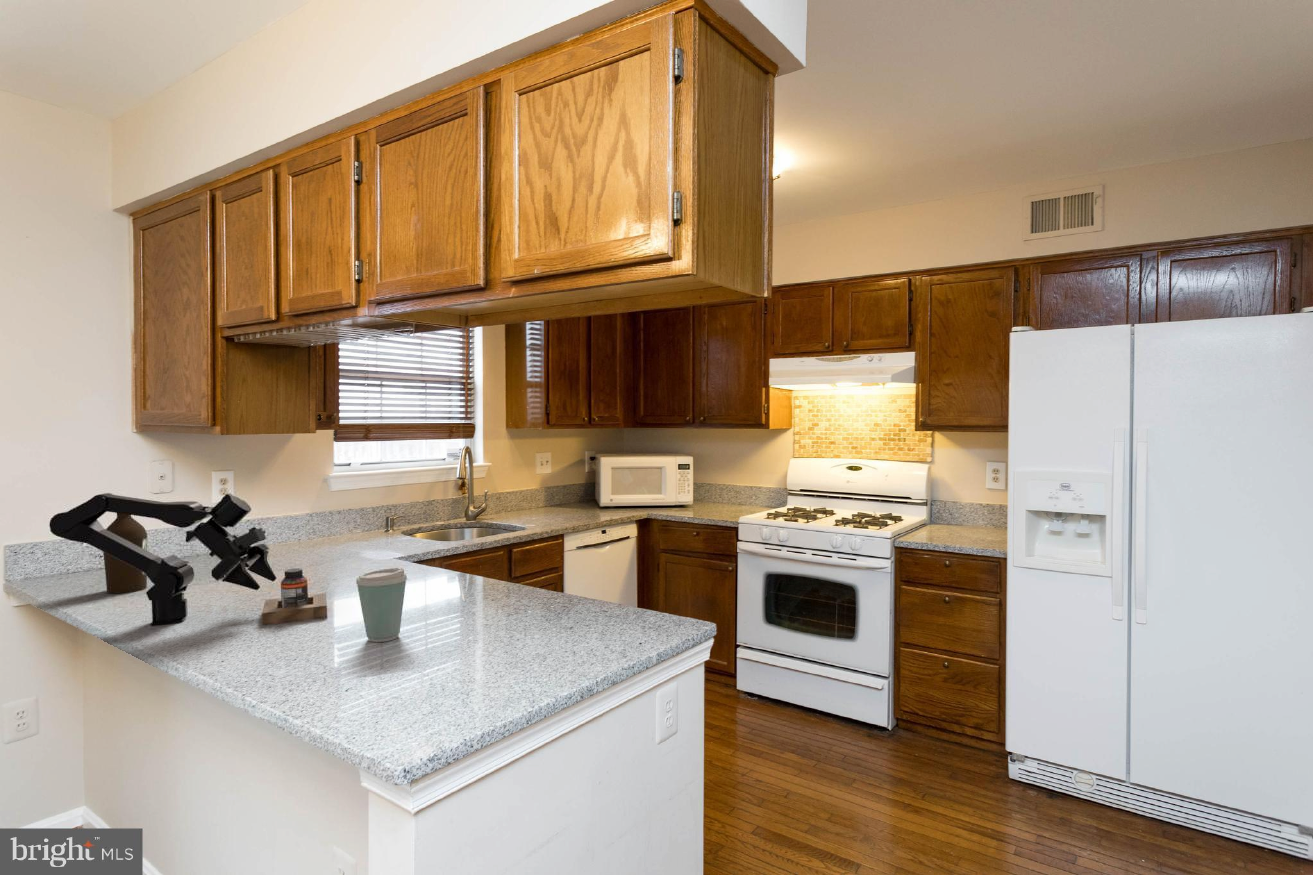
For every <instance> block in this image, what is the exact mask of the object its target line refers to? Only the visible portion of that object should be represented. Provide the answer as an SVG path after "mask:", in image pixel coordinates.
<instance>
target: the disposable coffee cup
mask: <svg viewBox="0 0 1313 875" xmlns="http://www.w3.org/2000/svg"><path fill="white" fill-rule="evenodd" d="M407 580H408V578H407V574H406V573H405V568H403V567H388V568H382V569H376V570H371V571H368V572H364V573H362V574H360V575H358V577H357V578H356V581H355V584H356V586H357V592H358V596H359V602H360V606H361V613H362V617H363V623H364V628H365V635H366V637H367V639H368V641H369V642H373V643H381V642H382V643H383V642H384V643H385V642H389V641H393V640H395V639H397V638H398V637H399V634H400V632H401V624H402V619H403V618H402V616H403V609H404V608H403V607H404V601H405V592H406V584H407V583H406V582H407Z"/></svg>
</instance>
